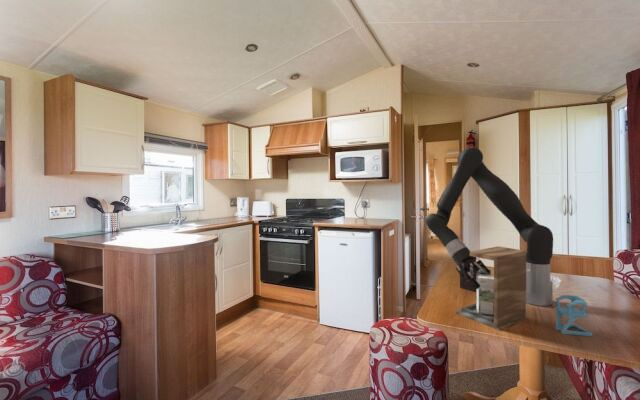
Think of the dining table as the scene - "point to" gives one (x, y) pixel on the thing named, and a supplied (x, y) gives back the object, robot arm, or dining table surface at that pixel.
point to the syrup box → (485, 294)
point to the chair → (571, 315)
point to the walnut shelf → (503, 288)
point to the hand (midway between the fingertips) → (485, 286)
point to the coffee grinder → (466, 284)
